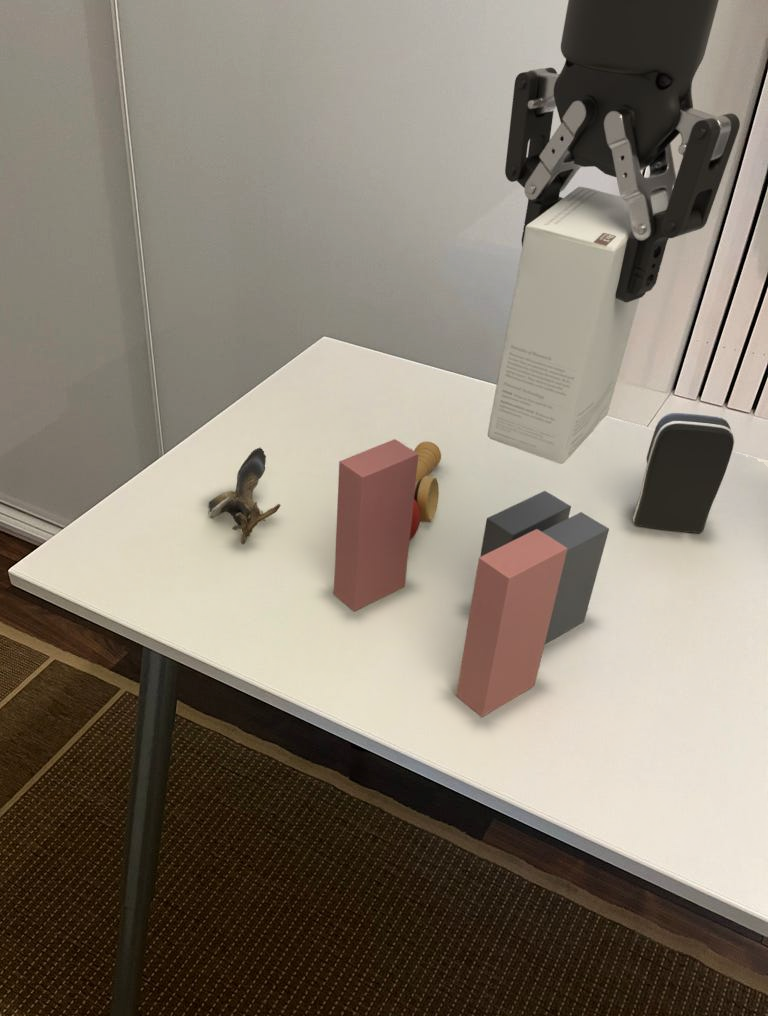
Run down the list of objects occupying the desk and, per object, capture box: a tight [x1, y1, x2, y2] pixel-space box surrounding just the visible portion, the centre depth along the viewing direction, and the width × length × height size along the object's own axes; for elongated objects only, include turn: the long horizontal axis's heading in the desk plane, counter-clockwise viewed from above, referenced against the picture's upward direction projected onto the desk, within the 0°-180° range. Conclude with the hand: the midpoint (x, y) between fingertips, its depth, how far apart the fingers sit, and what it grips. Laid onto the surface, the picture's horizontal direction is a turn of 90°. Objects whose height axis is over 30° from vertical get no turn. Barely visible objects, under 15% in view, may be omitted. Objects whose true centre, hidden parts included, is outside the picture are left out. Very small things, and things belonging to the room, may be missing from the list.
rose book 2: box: [455, 529, 567, 718], centre depth 74 cm, size 6×3×14 cm, turn 126°
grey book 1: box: [479, 490, 572, 557], centre depth 84 cm, size 7×3×10 cm, turn 126°
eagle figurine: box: [208, 446, 281, 545], centre depth 95 cm, size 8×7×9 cm
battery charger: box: [632, 412, 735, 534], centre depth 93 cm, size 7×4×11 cm, turn 78°
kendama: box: [410, 441, 442, 541], centre depth 97 cm, size 8×6×18 cm
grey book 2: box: [542, 511, 610, 645], centre depth 81 cm, size 7×3×10 cm, turn 126°
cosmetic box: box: [487, 186, 640, 465], centre depth 63 cm, size 8×6×15 cm
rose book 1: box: [333, 438, 419, 612], centre depth 84 cm, size 6×3×14 cm, turn 126°
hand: (581, 277), depth 61 cm, fingers closed on cosmetic box, 7 cm apart
